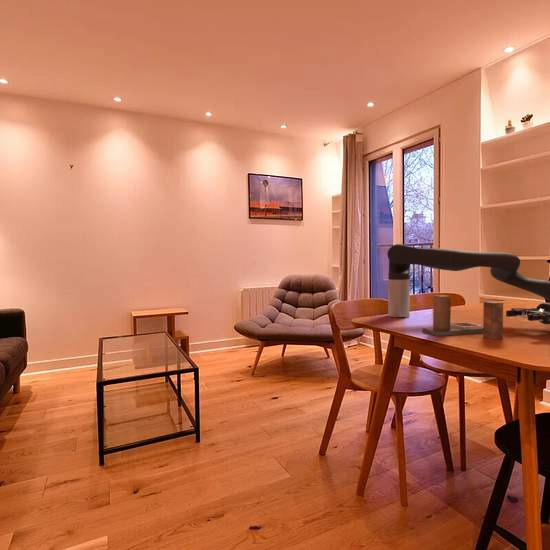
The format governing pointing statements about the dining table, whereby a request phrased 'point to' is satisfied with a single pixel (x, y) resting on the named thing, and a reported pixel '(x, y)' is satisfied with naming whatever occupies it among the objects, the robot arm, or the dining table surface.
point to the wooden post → (493, 320)
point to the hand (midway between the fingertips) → (517, 315)
